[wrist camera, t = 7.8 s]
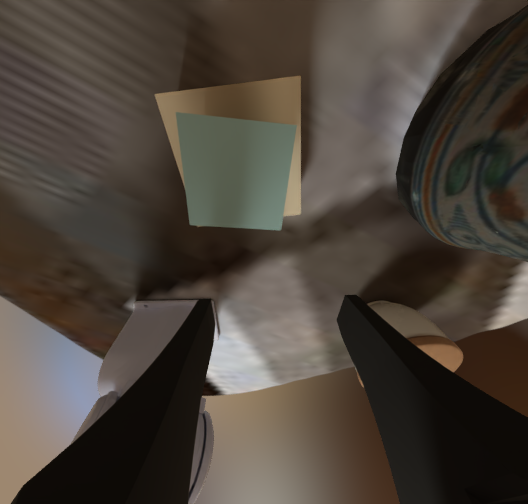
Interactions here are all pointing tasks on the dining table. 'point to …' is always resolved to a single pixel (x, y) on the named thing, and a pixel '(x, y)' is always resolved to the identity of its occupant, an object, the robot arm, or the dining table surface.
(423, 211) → the beer stein
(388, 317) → the lidded jar
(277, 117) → the birch base block
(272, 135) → the teal block
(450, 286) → the dining table surface
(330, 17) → the dining table surface
